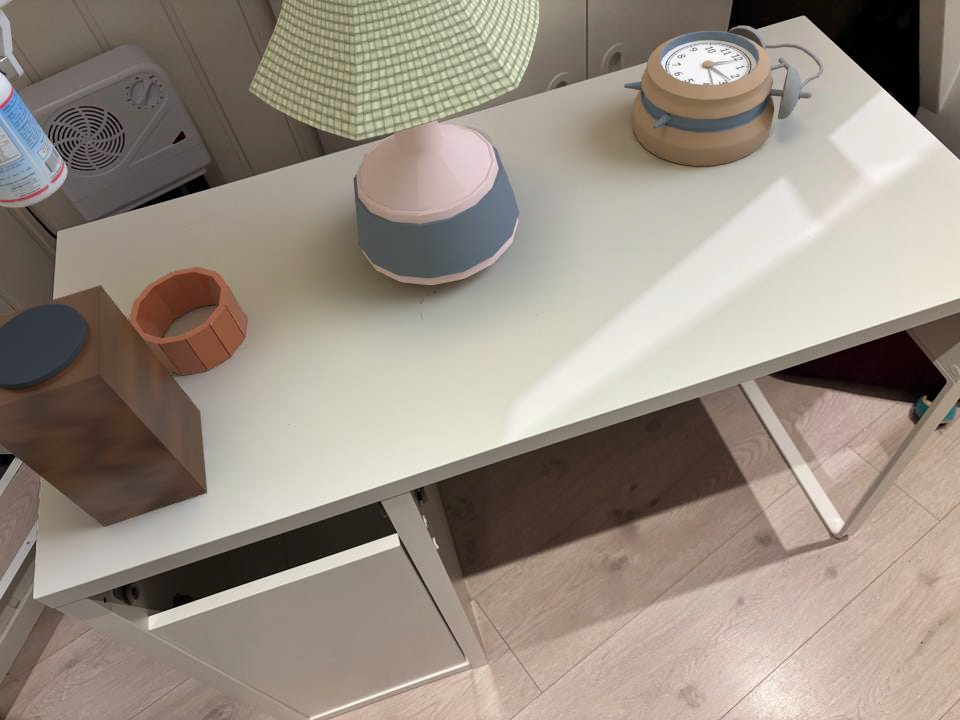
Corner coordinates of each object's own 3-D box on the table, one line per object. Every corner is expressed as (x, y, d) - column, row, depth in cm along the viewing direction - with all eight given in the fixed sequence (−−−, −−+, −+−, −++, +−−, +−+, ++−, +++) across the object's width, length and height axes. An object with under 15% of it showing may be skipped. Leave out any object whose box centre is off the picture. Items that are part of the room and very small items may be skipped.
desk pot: (210, 384, 79) (187, 353, 75) (135, 360, 83) (109, 329, 78) (264, 312, 84) (246, 279, 80) (191, 291, 88) (170, 259, 84)
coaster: (-20, 402, 56) (-25, 398, 55) (-9, 326, 60) (-14, 321, 60) (86, 369, 56) (82, 364, 56) (88, 296, 61) (84, 291, 61)
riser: (104, 527, 70) (-35, 417, 55) (105, 441, 76) (-20, 321, 61) (207, 492, 71) (99, 374, 56) (200, 410, 77) (100, 284, 62)
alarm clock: (612, 40, 92) (786, -8, 93) (611, 105, 99) (772, 60, 101) (670, 116, 82) (864, 61, 83) (664, 182, 89) (842, 131, 90)
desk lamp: (305, 210, 94) (148, -170, 61) (512, 141, 97) (469, -256, 64) (353, 356, 79) (178, -46, 46) (597, 268, 82) (597, -167, 49)
